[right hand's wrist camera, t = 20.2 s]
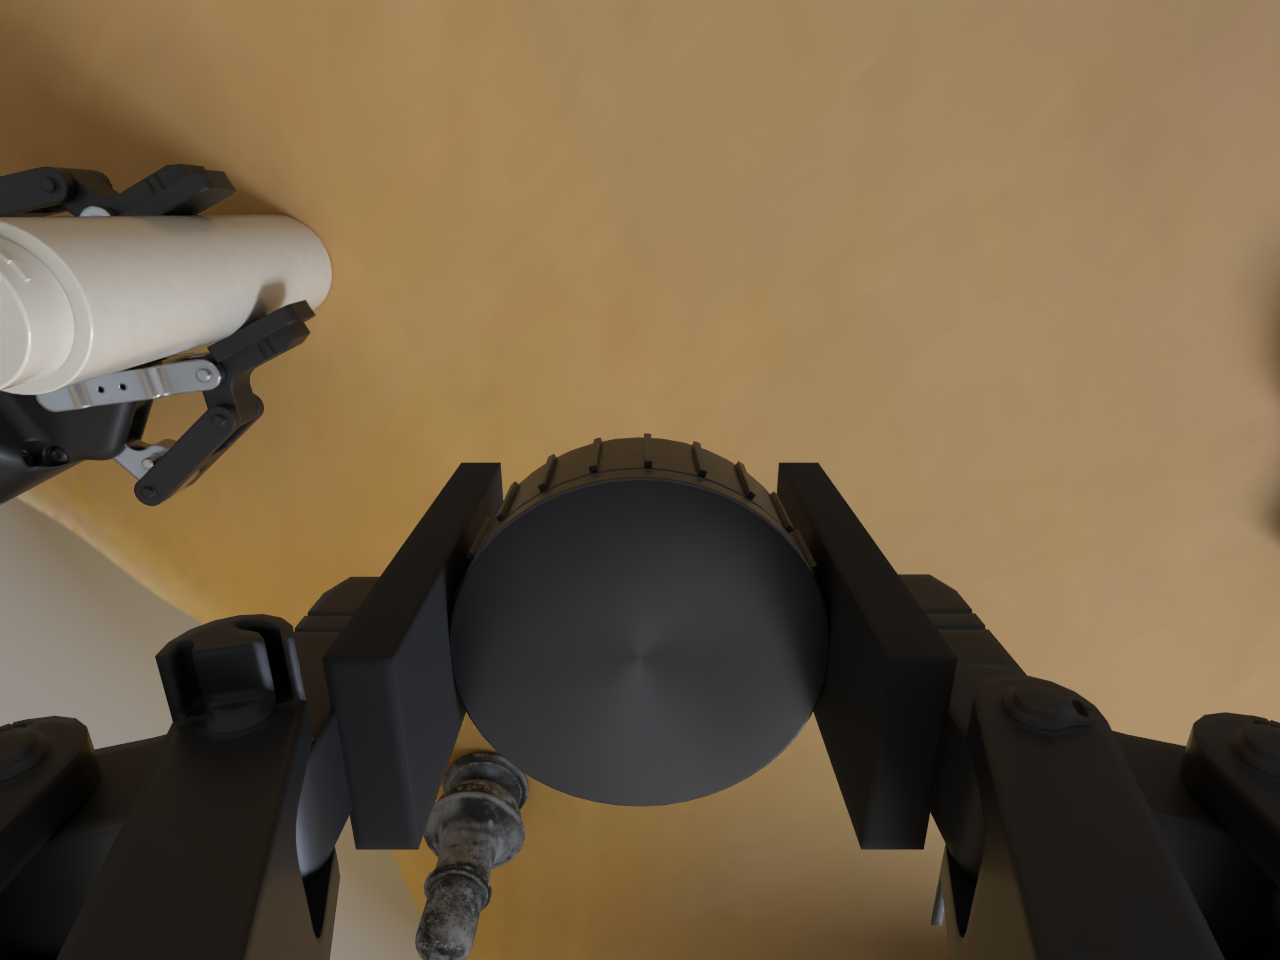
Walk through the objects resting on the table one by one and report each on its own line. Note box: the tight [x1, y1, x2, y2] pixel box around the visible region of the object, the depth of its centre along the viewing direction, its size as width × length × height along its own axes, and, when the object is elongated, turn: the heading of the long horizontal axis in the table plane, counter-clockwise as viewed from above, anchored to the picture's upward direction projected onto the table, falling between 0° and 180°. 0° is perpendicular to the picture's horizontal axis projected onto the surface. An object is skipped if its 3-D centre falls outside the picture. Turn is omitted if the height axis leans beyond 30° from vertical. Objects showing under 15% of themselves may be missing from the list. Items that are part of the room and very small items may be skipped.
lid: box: [449, 434, 831, 806], centre depth 11 cm, size 6×6×2 cm
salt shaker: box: [415, 753, 528, 960], centre depth 39 cm, size 6×6×12 cm
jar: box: [0, 215, 332, 395], centre depth 26 cm, size 5×5×18 cm
